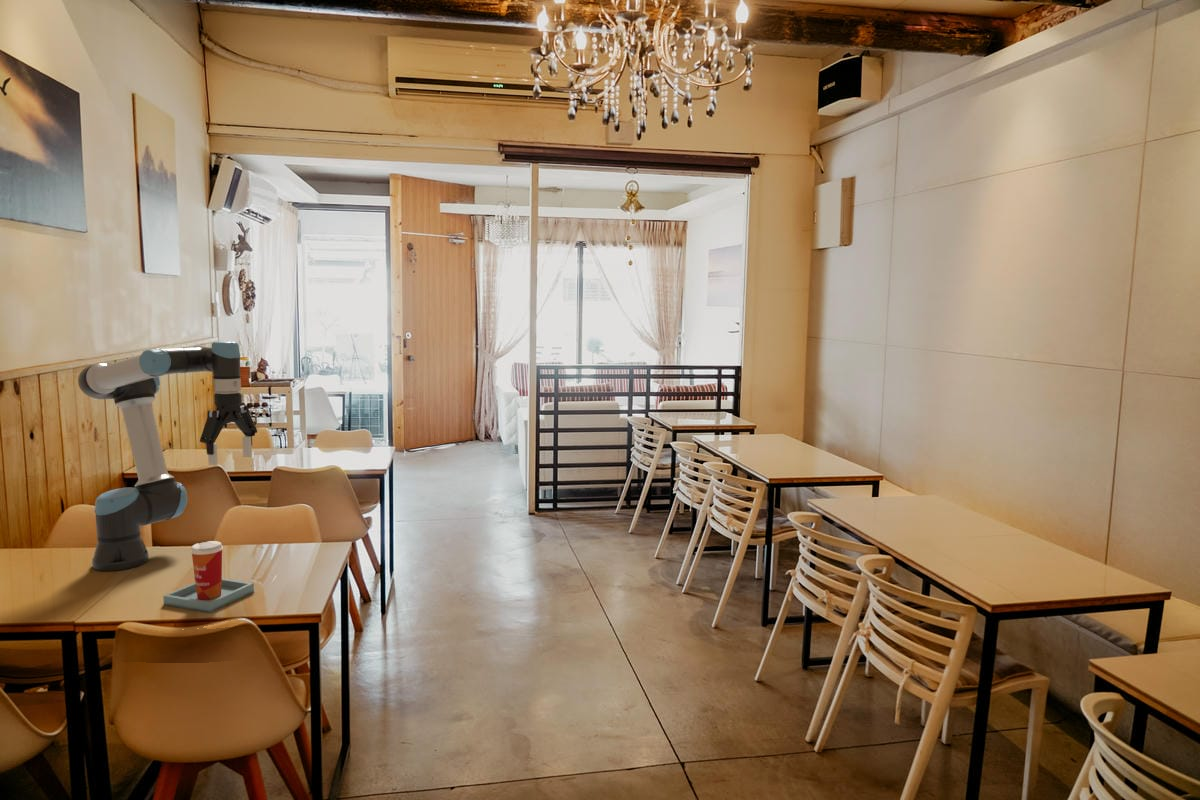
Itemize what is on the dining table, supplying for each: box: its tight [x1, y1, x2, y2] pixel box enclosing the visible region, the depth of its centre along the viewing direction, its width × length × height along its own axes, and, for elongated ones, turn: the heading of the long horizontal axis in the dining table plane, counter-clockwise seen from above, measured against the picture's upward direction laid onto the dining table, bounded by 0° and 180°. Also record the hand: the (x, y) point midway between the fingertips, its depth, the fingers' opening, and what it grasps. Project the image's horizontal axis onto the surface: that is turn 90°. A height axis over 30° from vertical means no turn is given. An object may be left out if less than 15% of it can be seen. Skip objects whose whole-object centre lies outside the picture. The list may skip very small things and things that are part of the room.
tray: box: [163, 577, 255, 614], centre depth 211 cm, size 16×16×3 cm
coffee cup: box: [189, 540, 224, 600], centre depth 210 cm, size 8×8×15 cm
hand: (230, 460), depth 230 cm, fingers open, 13 cm apart
